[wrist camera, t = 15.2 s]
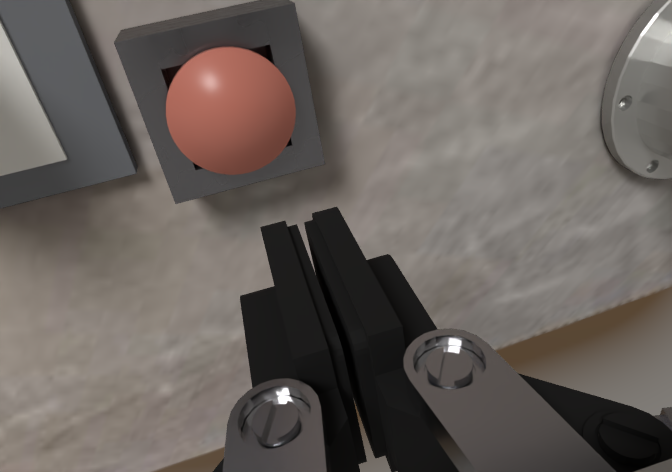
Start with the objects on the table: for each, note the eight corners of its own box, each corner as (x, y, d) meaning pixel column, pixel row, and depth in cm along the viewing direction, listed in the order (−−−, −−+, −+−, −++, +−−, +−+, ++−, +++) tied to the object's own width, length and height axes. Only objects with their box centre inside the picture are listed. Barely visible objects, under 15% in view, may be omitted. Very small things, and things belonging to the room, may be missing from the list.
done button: (270, 25, 22) (280, 34, 20) (294, 137, 25) (306, 157, 23) (148, 52, 21) (145, 65, 19) (188, 165, 24) (189, 188, 22)
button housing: (280, -5, 23) (294, 3, 20) (310, 142, 26) (324, 164, 24) (120, 30, 22) (114, 42, 19) (175, 177, 25) (175, 204, 23)
